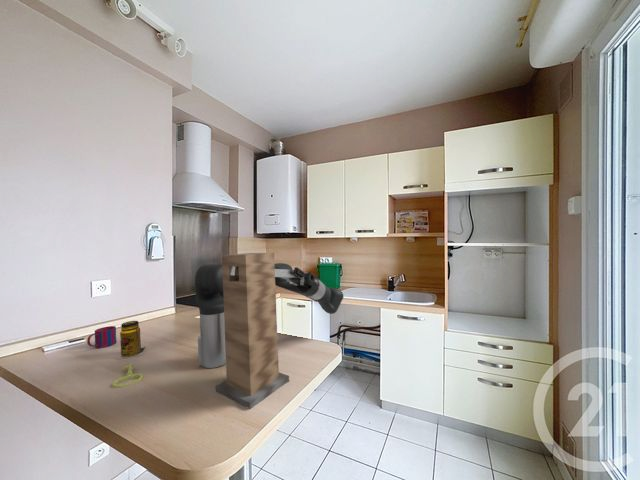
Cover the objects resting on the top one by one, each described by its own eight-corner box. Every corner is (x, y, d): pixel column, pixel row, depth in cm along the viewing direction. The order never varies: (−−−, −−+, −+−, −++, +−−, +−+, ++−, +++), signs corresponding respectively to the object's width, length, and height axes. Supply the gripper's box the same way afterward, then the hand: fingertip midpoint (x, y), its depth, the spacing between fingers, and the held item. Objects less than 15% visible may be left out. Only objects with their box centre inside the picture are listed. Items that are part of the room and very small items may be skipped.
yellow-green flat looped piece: (132, 368, 84) (132, 362, 84) (145, 380, 76) (145, 373, 76) (104, 378, 78) (104, 371, 78) (115, 392, 70) (115, 385, 70)
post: (256, 368, 80) (251, 252, 80) (289, 381, 72) (284, 252, 72) (216, 391, 68) (211, 255, 68) (250, 409, 60) (244, 255, 60)
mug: (120, 342, 106) (119, 326, 106) (92, 352, 97) (92, 335, 97) (109, 341, 109) (108, 325, 109) (81, 351, 99) (80, 333, 99)
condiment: (116, 360, 90) (115, 326, 90) (124, 350, 98) (123, 320, 98) (140, 355, 93) (139, 323, 93) (146, 347, 101) (145, 317, 101)
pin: (295, 277, 85) (295, 270, 85) (300, 277, 83) (300, 270, 83) (229, 275, 67) (230, 266, 67) (234, 275, 65) (235, 266, 66)
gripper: (299, 276, 99) (273, 259, 88) (329, 278, 91) (305, 259, 80) (294, 294, 96) (266, 279, 85) (324, 298, 88) (298, 281, 76)
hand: (285, 269), depth 82 cm, fingers open, 8 cm apart
